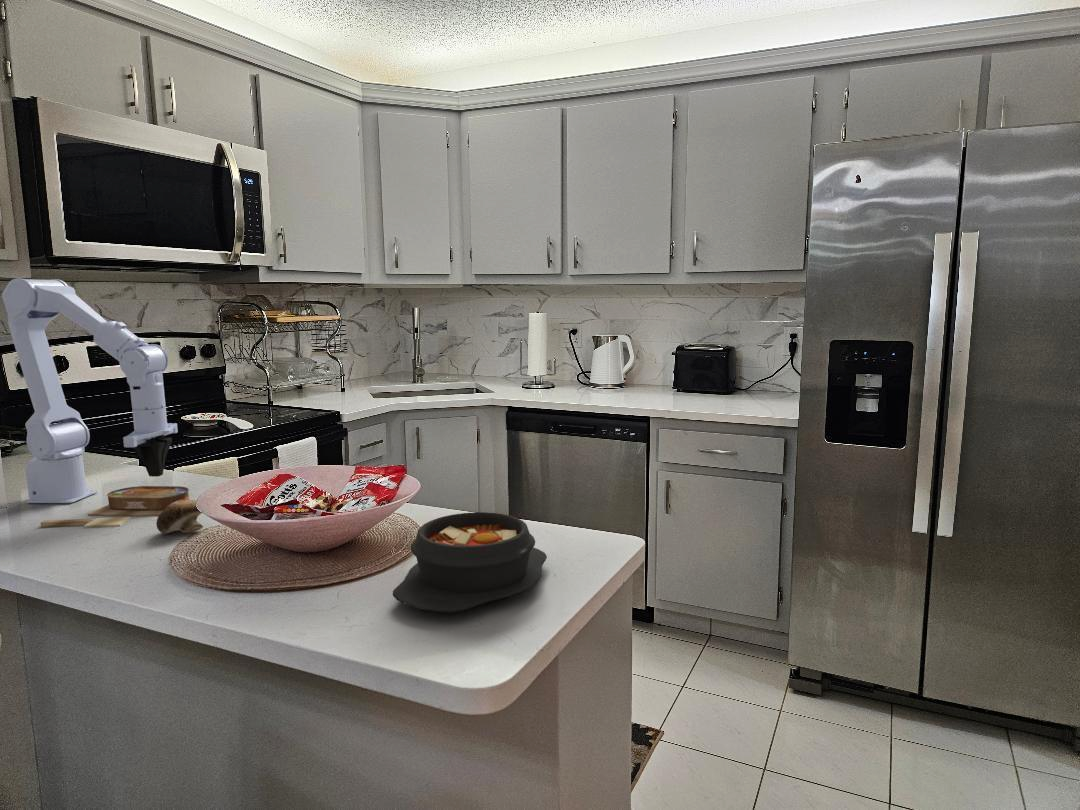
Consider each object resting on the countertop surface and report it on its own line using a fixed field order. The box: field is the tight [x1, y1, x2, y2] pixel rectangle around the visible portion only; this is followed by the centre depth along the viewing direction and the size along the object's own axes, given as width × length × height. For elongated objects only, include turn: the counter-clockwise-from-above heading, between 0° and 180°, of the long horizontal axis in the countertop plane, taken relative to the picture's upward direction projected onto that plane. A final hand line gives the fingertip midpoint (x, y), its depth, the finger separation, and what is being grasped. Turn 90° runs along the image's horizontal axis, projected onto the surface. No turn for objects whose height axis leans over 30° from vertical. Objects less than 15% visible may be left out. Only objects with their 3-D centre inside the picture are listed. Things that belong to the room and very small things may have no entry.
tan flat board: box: [87, 504, 163, 517], centre depth 137 cm, size 17×8×1 cm, turn 87°
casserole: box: [392, 511, 548, 613], centre depth 97 cm, size 25×19×8 cm
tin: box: [106, 485, 190, 510], centre depth 138 cm, size 15×3×8 cm
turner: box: [40, 516, 132, 529], centre depth 128 cm, size 14×4×1 cm, turn 97°
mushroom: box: [155, 499, 204, 535], centre depth 122 cm, size 8×8×6 cm
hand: (156, 475), depth 140 cm, fingers closed
